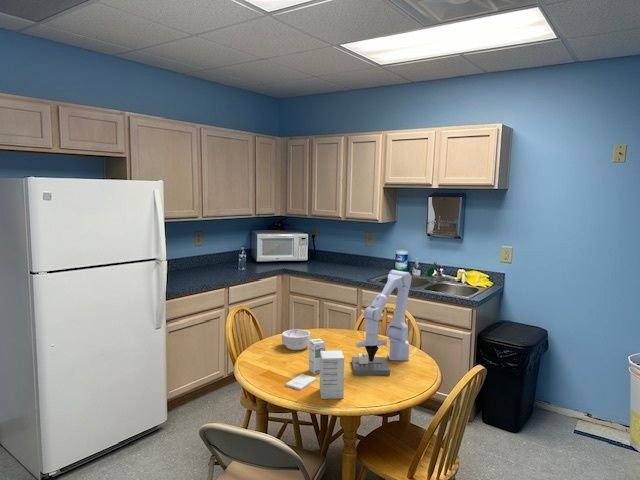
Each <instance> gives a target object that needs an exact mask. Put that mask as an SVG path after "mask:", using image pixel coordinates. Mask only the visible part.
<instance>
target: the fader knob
mask: <svg viewBox="0 0 640 480" xmlns="http://www.w3.org/2000/svg"><path fill="white" fill-rule="evenodd" d="M357 357H358V361H359V364H368V353H367V352H366V353H363V352H362V353H358V356H357Z"/></svg>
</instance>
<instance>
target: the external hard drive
mask: <svg viewBox="0 0 640 480" xmlns="http://www.w3.org/2000/svg"><path fill="white" fill-rule="evenodd" d="M316 381H317V377H315V376H311V375H308V374H303V373H300V374H299V375H297V376H296V377H294V378H292V379H291V380H289V381H287V382H286V383H284V387H287V388H291V389H294V390H297V391H302V390H304V389H305V388H307V387H309V386H310V385H311V384H313V383H315V382H316Z"/></svg>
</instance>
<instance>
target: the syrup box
mask: <svg viewBox="0 0 640 480" xmlns="http://www.w3.org/2000/svg"><path fill="white" fill-rule="evenodd" d="M320 351H326V341H325V340H323V339H321V338H315V339H311V340H309V344H308V370H309V372H311V373H312V374H313V375H317V374H320Z"/></svg>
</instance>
